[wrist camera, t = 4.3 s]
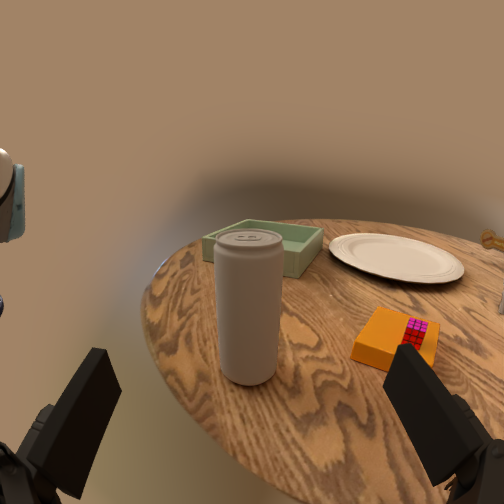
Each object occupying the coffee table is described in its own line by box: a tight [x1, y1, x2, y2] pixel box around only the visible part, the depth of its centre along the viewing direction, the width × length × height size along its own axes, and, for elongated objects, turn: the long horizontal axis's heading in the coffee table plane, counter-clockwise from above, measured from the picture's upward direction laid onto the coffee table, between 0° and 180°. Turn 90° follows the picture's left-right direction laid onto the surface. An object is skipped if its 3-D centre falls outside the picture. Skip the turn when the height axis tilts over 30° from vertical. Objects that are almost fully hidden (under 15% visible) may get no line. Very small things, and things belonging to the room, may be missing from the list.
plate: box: [329, 233, 464, 284], centre depth 49 cm, size 29×29×2 cm
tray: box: [202, 219, 324, 279], centre depth 52 cm, size 18×18×4 cm
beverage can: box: [214, 229, 284, 386], centre depth 21 cm, size 5×5×12 cm
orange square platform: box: [350, 306, 440, 372], centre depth 23 cm, size 8×8×4 cm
